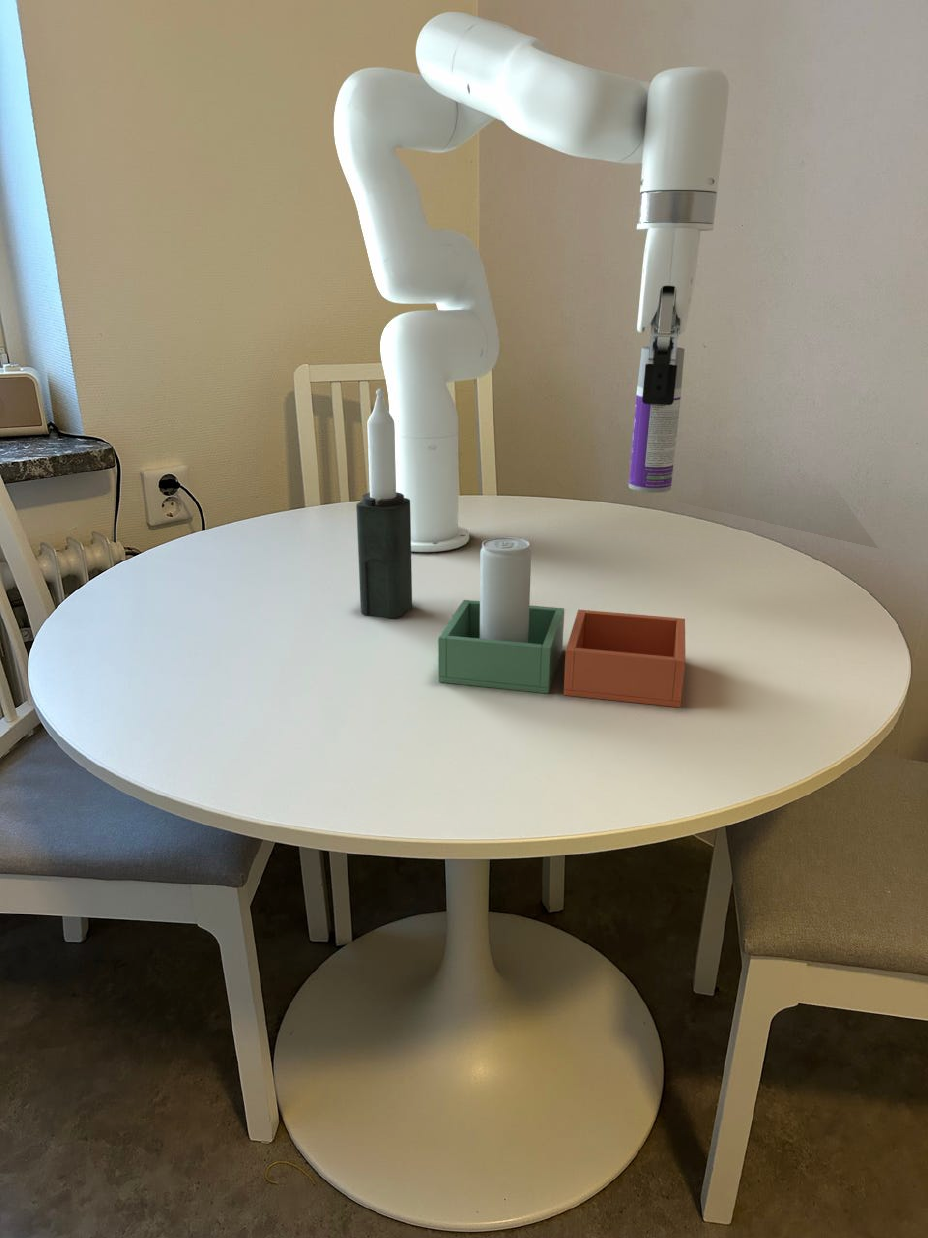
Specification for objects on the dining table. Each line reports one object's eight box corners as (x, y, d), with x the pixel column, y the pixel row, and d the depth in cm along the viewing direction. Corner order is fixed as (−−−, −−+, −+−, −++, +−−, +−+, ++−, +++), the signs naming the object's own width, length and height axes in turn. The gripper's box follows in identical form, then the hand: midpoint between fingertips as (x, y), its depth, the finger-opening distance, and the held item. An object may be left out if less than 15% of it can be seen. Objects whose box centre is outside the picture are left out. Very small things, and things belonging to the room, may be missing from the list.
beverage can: (528, 650, 89) (532, 537, 85) (526, 670, 85) (530, 551, 80) (481, 648, 90) (482, 535, 85) (477, 668, 85) (478, 550, 81)
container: (623, 482, 100) (635, 345, 94) (663, 482, 100) (677, 346, 95) (634, 492, 95) (647, 349, 90) (676, 492, 96) (692, 350, 90)
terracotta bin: (563, 695, 81) (565, 650, 79) (575, 650, 91) (578, 609, 89) (680, 707, 79) (685, 661, 77) (680, 660, 88) (685, 618, 87)
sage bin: (438, 682, 84) (437, 637, 82) (463, 639, 93) (463, 599, 91) (548, 693, 81) (550, 648, 80) (562, 649, 91) (564, 608, 89)
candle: (415, 604, 103) (411, 386, 94) (398, 619, 98) (392, 392, 89) (375, 599, 104) (368, 384, 95) (357, 614, 100) (347, 390, 91)
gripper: (640, 217, 96) (626, 388, 103) (634, 209, 80) (618, 410, 87) (711, 218, 94) (692, 391, 101) (718, 209, 79) (695, 414, 86)
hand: (658, 398), depth 94 cm, fingers closed on container, 4 cm apart
